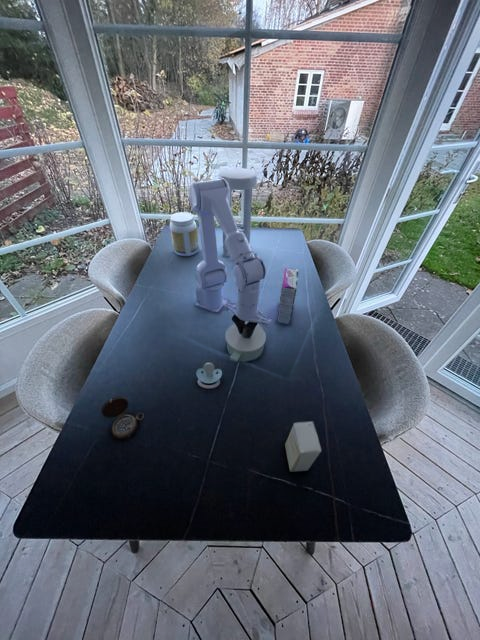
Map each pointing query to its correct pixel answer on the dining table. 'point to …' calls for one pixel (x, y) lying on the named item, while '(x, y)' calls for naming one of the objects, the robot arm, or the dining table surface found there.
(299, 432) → the cosmetic box
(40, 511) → the dining table surface
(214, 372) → the pacifier
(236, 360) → the grey-green ring with tabs
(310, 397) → the dining table surface
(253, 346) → the lid
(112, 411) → the compass
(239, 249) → the robot arm
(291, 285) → the candy bar box
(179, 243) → the supplement tub
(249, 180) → the stool
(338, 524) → the dining table surface
